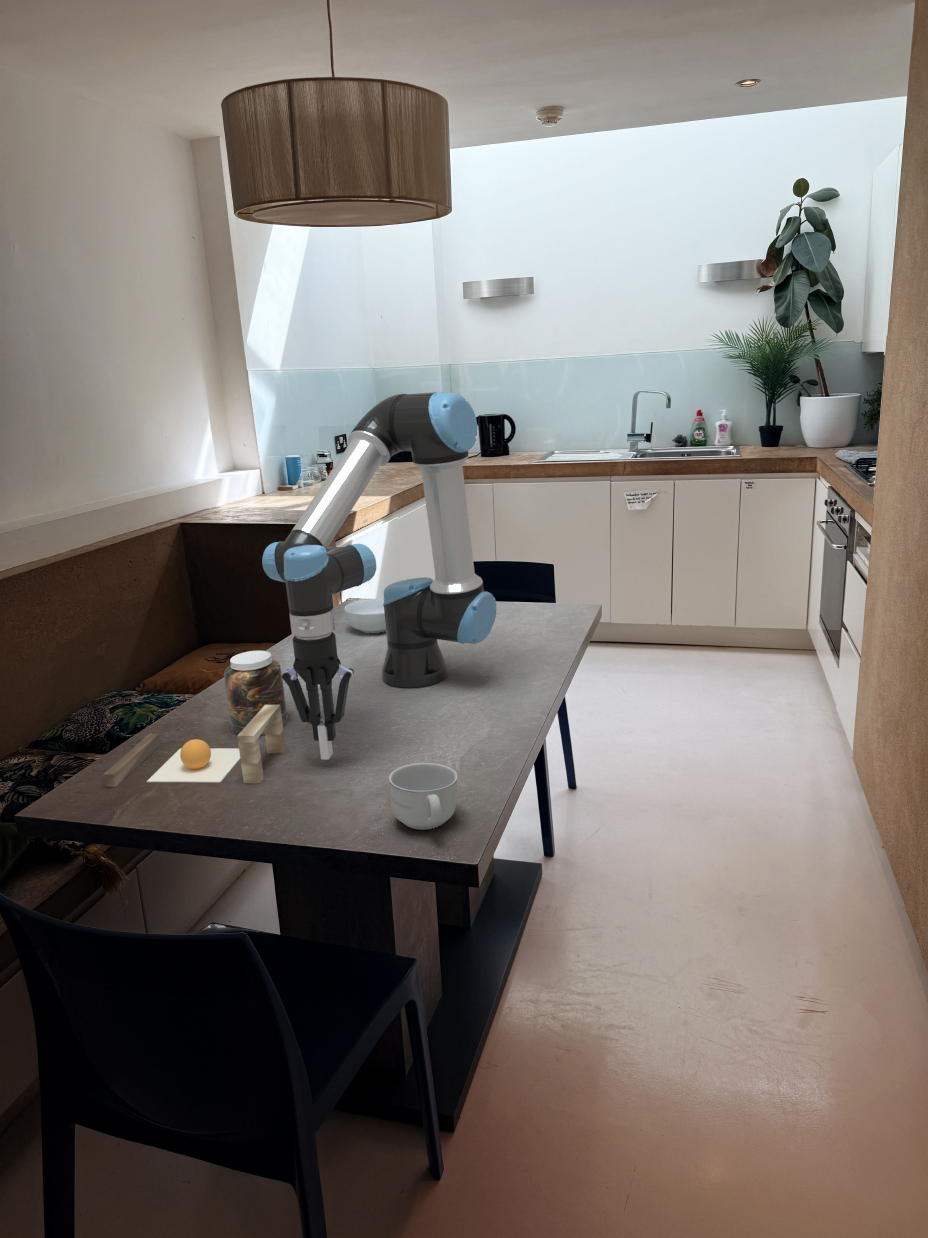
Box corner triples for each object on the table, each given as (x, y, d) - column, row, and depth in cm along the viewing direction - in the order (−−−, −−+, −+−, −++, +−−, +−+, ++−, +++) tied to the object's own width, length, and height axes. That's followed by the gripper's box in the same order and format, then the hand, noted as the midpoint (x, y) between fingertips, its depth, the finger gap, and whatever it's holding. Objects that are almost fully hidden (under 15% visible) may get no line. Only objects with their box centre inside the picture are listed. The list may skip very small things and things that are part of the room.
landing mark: (248, 749, 170) (248, 748, 170) (220, 782, 156) (220, 781, 156) (180, 749, 172) (180, 748, 172) (146, 782, 158) (146, 781, 158)
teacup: (392, 807, 144) (388, 763, 142) (457, 801, 145) (454, 757, 143) (392, 851, 131) (388, 803, 129) (464, 844, 131) (461, 797, 129)
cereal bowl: (403, 637, 235) (401, 612, 233) (342, 640, 236) (339, 615, 234) (408, 619, 252) (406, 596, 250) (351, 622, 252) (348, 599, 250)
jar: (226, 721, 185) (217, 654, 180) (281, 710, 189) (273, 644, 185) (235, 741, 174) (225, 670, 170) (293, 729, 178) (285, 660, 174)
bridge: (285, 748, 169) (280, 704, 166) (259, 783, 155) (253, 735, 153) (270, 748, 169) (265, 704, 167) (243, 783, 156) (237, 736, 153)
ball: (182, 739, 165) (192, 765, 166) (171, 750, 159) (182, 777, 161) (208, 731, 164) (219, 757, 165) (198, 742, 159) (209, 769, 160)
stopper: (160, 745, 174) (158, 733, 173) (115, 787, 157) (113, 774, 156) (151, 745, 174) (149, 733, 174) (105, 787, 157) (102, 774, 157)
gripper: (271, 641, 151) (286, 765, 157) (344, 639, 149) (356, 765, 156) (284, 628, 158) (298, 747, 165) (354, 627, 156) (366, 747, 163)
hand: (326, 756), depth 160 cm, fingers closed
